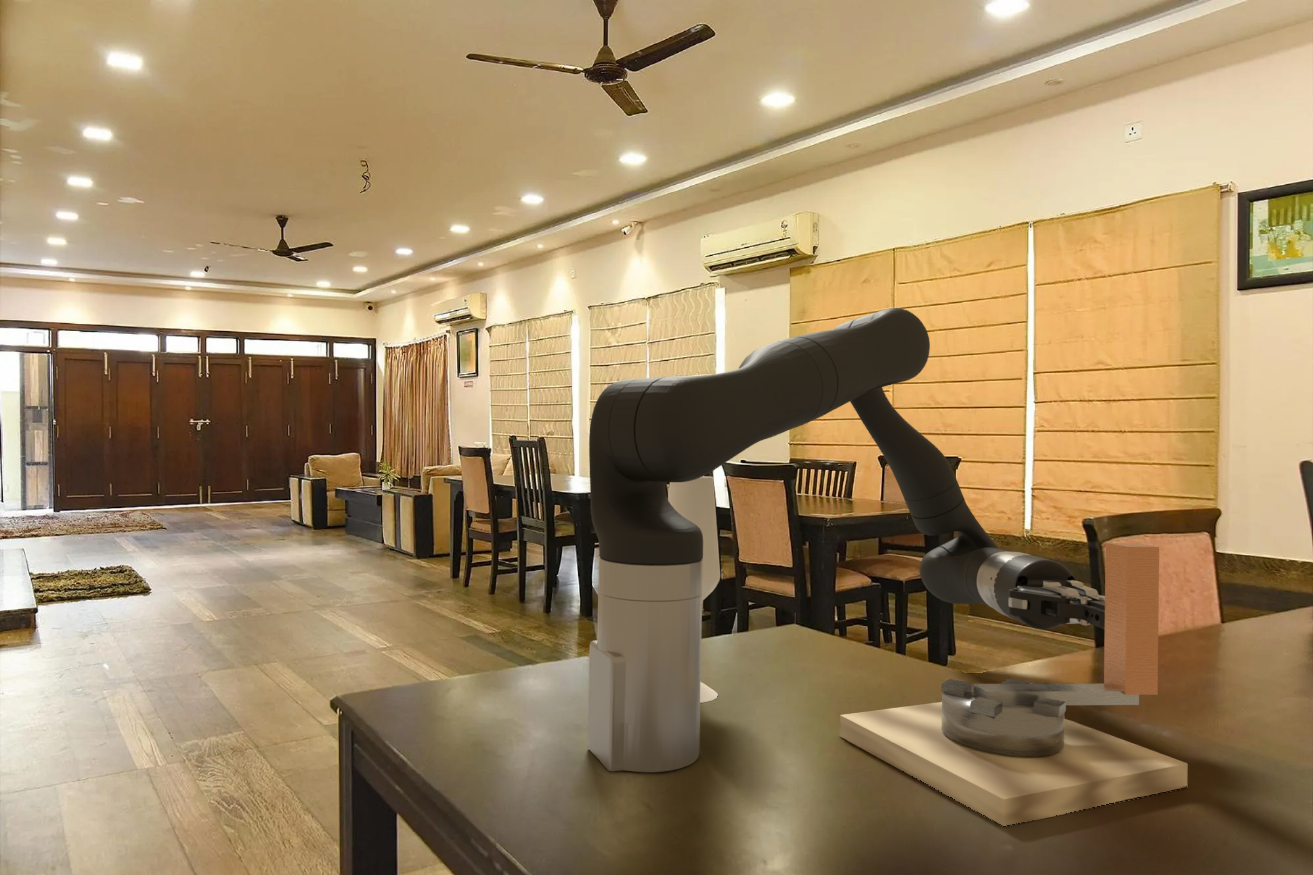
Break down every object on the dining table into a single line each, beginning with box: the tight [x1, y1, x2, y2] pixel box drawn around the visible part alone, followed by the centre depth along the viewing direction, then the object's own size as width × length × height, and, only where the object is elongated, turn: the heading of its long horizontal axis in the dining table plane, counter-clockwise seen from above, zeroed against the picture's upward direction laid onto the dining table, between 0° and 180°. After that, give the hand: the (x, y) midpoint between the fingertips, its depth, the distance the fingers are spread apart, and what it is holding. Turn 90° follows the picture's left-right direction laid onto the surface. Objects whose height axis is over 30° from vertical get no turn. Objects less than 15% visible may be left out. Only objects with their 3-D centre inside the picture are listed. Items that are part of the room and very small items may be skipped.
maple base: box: [839, 701, 1189, 827], centre depth 73 cm, size 20×20×2 cm
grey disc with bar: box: [941, 542, 1160, 756], centre depth 73 cm, size 18×10×17 cm, turn 95°
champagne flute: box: [667, 475, 721, 704], centre depth 91 cm, size 7×7×24 cm
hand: (1121, 620), depth 75 cm, fingers closed
